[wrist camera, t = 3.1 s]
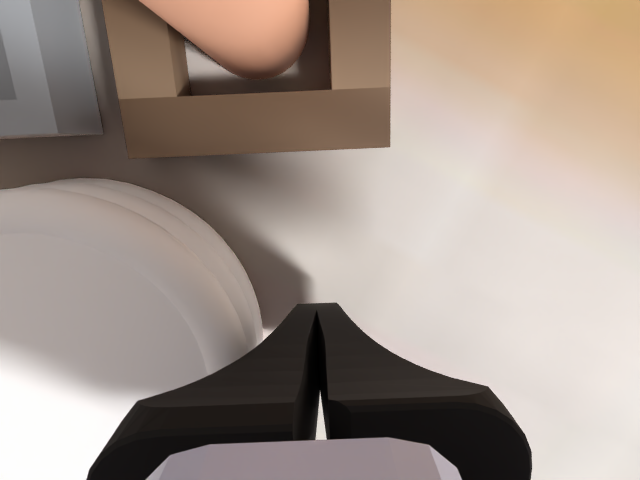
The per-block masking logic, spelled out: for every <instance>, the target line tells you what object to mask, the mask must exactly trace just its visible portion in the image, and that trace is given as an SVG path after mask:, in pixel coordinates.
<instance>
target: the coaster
mask: <svg viewBox="0 0 640 480" xmlns="http://www.w3.org/2000/svg"><path fill="white" fill-rule="evenodd" d="M262 341H263V329H262V320H261V314H260V308H259V304H258V301H257V298H256V295H255V292H254V289H253V286H252V284H251V282H250V280H249V278H248V276H247V273H246V271H245V269H244V268H243V266H242V265H241V263H240V261H239V260H238V258H237V257H236V255H235V253H234V252H233V251H232V250H231V248H230V247H229V246H228V245H227V243H226V242H225V241H224V240H223V238H222V237H221V236H220V235H219V234H218V233H217V232H216V231H215V230H214V229H213V228H212V227H211V226H209V225H208V224H207V223H206V222H205V221H204V220H202V219H201V218H200V217H198V216H197V215H196V214H195V213H193V212H192V211H190V210H189V209H187V208H185V207H184V206H182V205H180V204H179V203H177V202H175V201H174V200H172V199H170V198H167V197H165V196H163V195H161V194H159V193H156V192H154V191H152V190H149V189H146V188H143V187H140V186H136V185H133V184H130V183H126V182H120V181H115V180H109V179H97V178H75V179H64V180H57V181H53V182H48V183H41V184H31V185H26V186H22V187H18V188H12V189H1V190H0V480H87V476H88V472H89V469H90V467H91V466H92V465H93V463H94V462H95V460H96V459H97V457H98V456H99V454H100V453H101V451H102V450H103V448H104V447H105V445H106V444H107V442H108V441H109V439H110V438H111V436H112V435H113V433H114V432H115V430H116V429H117V427H118V426H119V424H120V423H121V421H122V420H123V419H124V417H125V416H126V415H127V413H128V412H129V411H130V409H131V408H132V407H133V406H134V404H135V403H136V402H137V401H138V400H141V399H145V398H148V397H152V396H155V395H158V394H161V393H164V392H167V391H171V390H174V389H177V388H179V387H182V386H185V385H187V384H190V383H192V382H195V381H197V380H200V379H202V378H204V377H206V376H208V375H211V374H213V373H215V372H217V371H218V370H220V369H222V368H224V367H225V366H227V365H229V364H231V363H233V362H234V361H236V360H238V359H239V358H241V357H242V356H244V355H245V354H247V353H248V352H250V351H251V350H252V349H254V348H255V347H256V346H258V345H259V344H260V343H261V342H262Z"/></svg>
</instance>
